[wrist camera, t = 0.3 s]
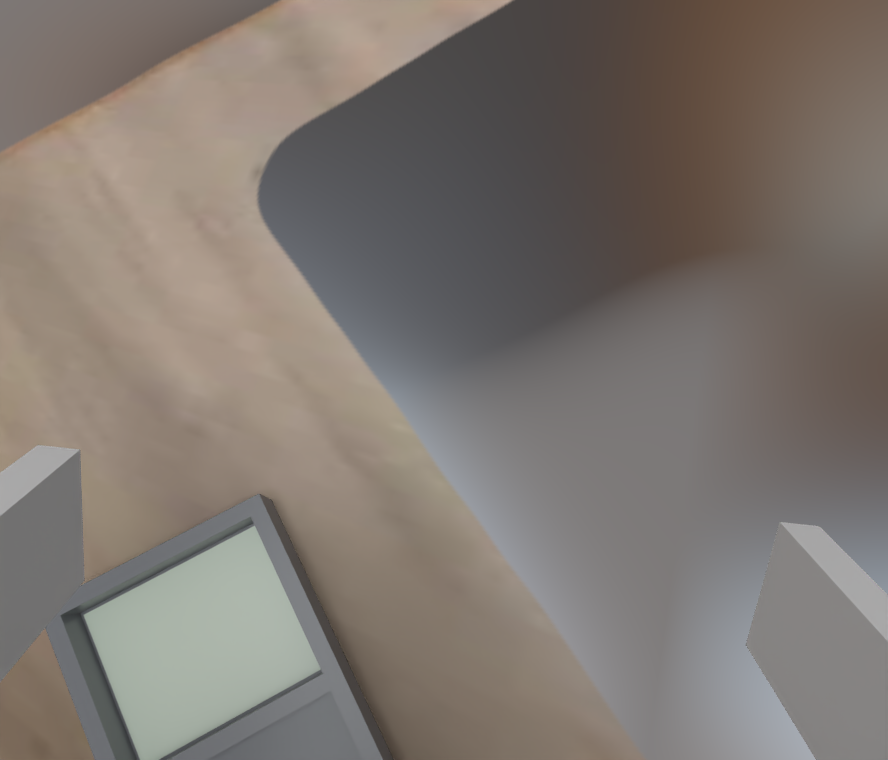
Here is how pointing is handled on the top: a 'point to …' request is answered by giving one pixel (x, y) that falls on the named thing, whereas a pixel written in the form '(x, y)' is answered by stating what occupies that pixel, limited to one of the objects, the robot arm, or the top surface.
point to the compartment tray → (212, 653)
